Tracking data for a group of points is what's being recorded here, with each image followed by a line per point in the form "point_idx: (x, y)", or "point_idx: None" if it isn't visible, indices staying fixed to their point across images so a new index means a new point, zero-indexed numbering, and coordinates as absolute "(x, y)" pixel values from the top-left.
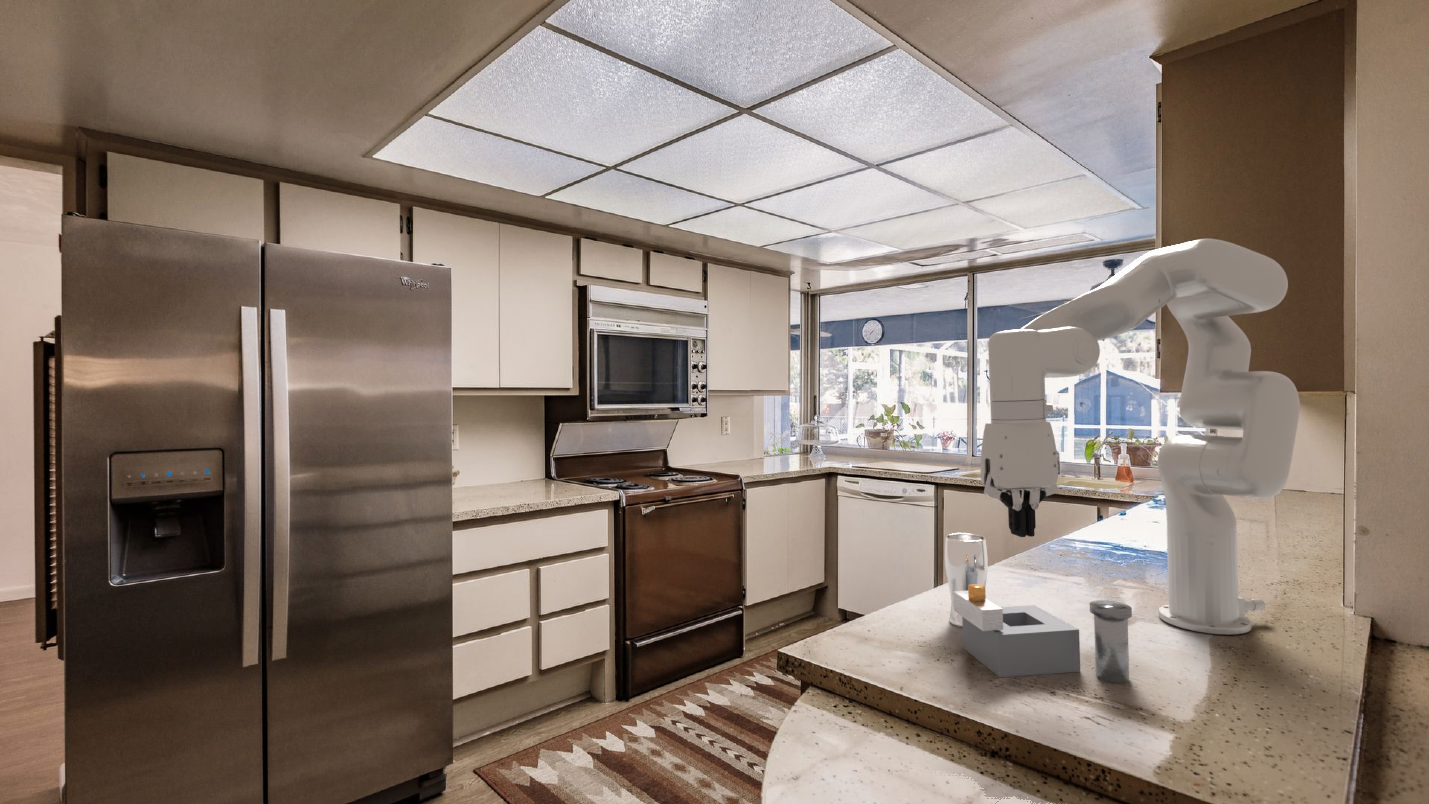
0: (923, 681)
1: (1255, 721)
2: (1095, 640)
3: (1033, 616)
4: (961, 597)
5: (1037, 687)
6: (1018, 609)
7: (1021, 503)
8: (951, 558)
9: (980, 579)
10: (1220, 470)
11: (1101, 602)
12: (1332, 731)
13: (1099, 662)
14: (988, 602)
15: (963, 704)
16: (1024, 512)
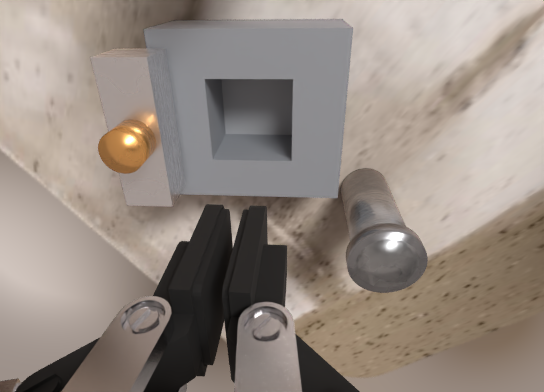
0: (70, 151)
1: (426, 303)
2: (349, 212)
3: (295, 112)
4: (103, 106)
5: (233, 196)
6: (289, 55)
7: (240, 319)
8: None
9: None
10: None
11: (387, 244)
12: (479, 328)
13: (343, 204)
14: (157, 162)
15: (114, 220)
16: (205, 367)
